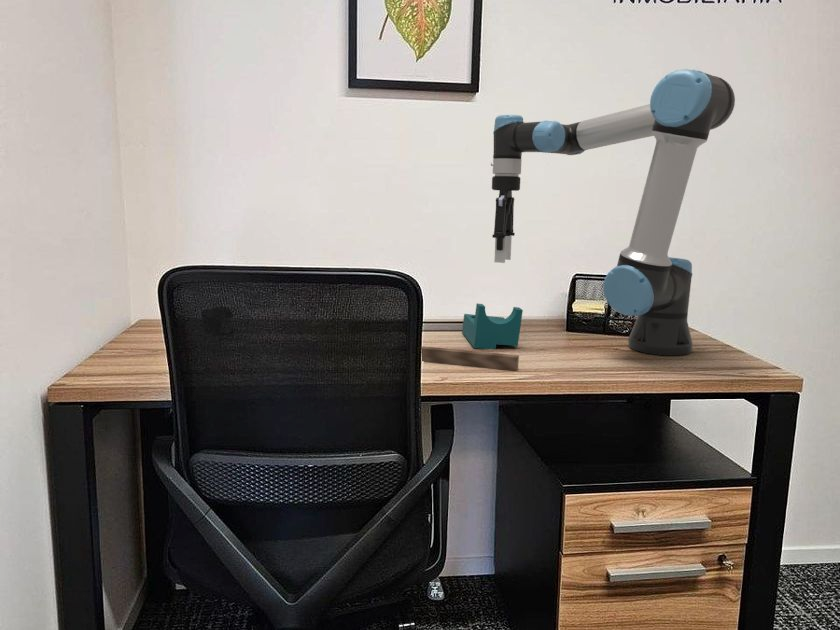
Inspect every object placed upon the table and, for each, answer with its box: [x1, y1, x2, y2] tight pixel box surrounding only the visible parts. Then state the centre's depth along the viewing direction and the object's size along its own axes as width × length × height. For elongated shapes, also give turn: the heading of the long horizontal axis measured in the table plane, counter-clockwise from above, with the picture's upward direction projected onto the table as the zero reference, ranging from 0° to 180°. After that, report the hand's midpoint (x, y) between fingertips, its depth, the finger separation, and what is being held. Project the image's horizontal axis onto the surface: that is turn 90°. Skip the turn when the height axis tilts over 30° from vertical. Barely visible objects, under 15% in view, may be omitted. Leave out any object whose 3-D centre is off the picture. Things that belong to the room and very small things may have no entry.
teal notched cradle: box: [461, 303, 524, 350], centre depth 177 cm, size 18×11×10 cm, turn 6°
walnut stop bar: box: [421, 345, 520, 372], centre depth 154 cm, size 22×2×3 cm, turn 72°
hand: (502, 260), depth 188 cm, fingers open, 8 cm apart
